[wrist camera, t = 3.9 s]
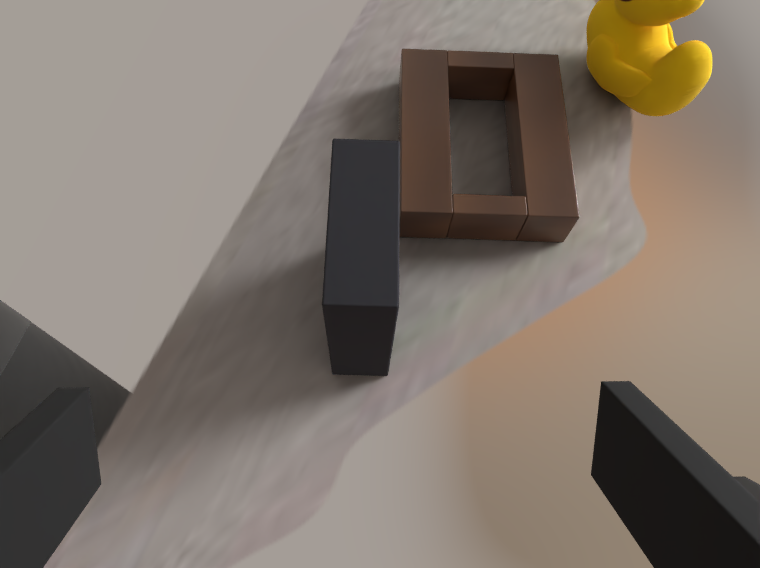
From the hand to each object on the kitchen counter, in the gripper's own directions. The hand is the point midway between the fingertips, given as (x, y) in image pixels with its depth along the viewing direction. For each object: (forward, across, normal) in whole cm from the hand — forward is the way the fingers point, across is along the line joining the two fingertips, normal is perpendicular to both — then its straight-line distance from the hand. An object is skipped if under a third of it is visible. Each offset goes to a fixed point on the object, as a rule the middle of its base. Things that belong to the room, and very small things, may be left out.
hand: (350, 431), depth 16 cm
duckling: (+29, +18, +11) cm, 36 cm away
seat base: (+25, +8, +6) cm, 27 cm away
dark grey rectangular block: (+19, +1, -2) cm, 19 cm away
